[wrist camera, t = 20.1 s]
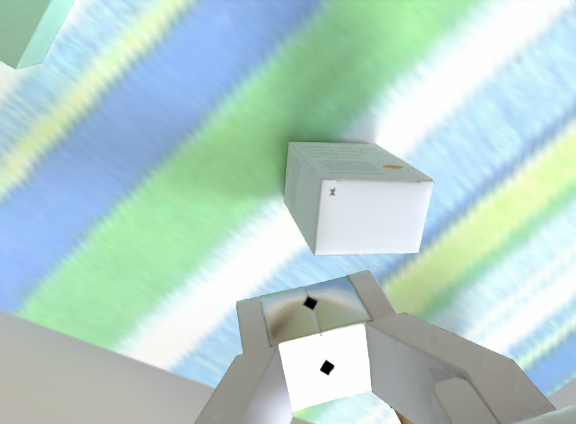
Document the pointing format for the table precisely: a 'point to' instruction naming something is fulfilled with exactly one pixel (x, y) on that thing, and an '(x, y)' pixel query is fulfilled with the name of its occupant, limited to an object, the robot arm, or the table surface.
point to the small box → (355, 198)
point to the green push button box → (29, 29)
